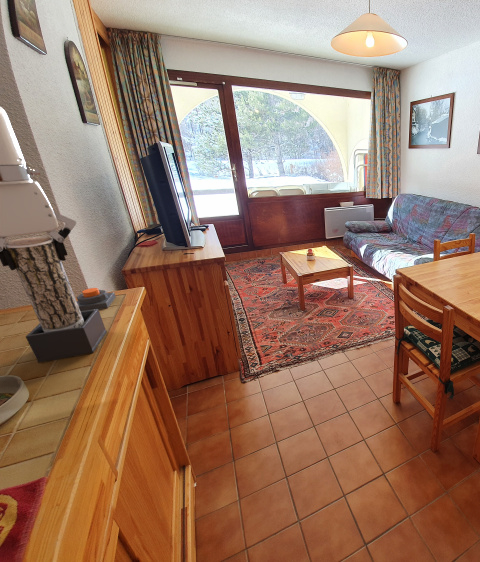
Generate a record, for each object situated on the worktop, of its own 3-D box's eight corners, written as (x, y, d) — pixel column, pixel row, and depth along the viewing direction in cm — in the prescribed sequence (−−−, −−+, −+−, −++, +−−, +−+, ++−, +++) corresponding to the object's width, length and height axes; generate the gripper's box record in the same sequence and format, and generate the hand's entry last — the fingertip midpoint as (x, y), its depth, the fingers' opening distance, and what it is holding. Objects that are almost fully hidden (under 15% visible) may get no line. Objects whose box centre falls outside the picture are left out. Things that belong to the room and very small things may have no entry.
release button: (82, 299, 89) (79, 293, 89) (86, 294, 92) (84, 288, 92) (97, 297, 91) (95, 291, 90) (101, 292, 94) (99, 287, 93)
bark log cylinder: (50, 355, 69) (0, 247, 59) (53, 341, 73) (7, 239, 64) (90, 345, 73) (50, 242, 63) (90, 332, 77) (53, 235, 68)
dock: (38, 363, 68) (25, 336, 65) (58, 340, 76) (47, 315, 73) (93, 352, 71) (83, 327, 69) (106, 332, 79) (98, 308, 77)
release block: (73, 313, 88) (68, 302, 87) (83, 301, 95) (79, 291, 93) (107, 308, 91) (104, 297, 90) (115, 297, 98) (112, 287, 96)
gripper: (58, 172, 67) (85, 251, 74) (-77, 175, 54) (-28, 271, 61) (68, 174, 63) (96, 257, 70) (-76, 178, 50) (-24, 280, 57)
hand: (38, 263), depth 65 cm, fingers closed on bark log cylinder, 6 cm apart
